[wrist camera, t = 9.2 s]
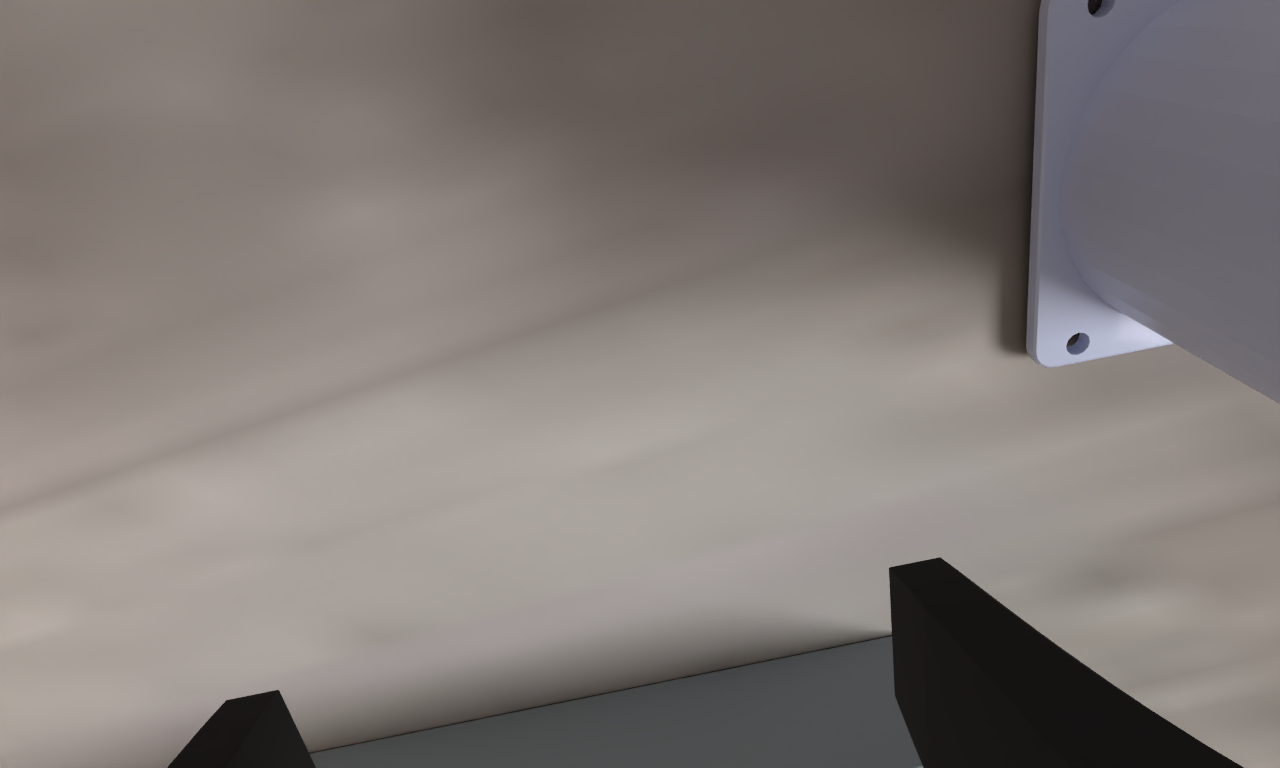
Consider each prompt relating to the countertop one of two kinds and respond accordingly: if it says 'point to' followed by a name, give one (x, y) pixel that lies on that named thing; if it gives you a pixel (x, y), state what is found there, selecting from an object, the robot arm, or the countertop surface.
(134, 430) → the countertop surface
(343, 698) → the countertop surface
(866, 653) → the grey angular frame piece
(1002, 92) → the countertop surface
